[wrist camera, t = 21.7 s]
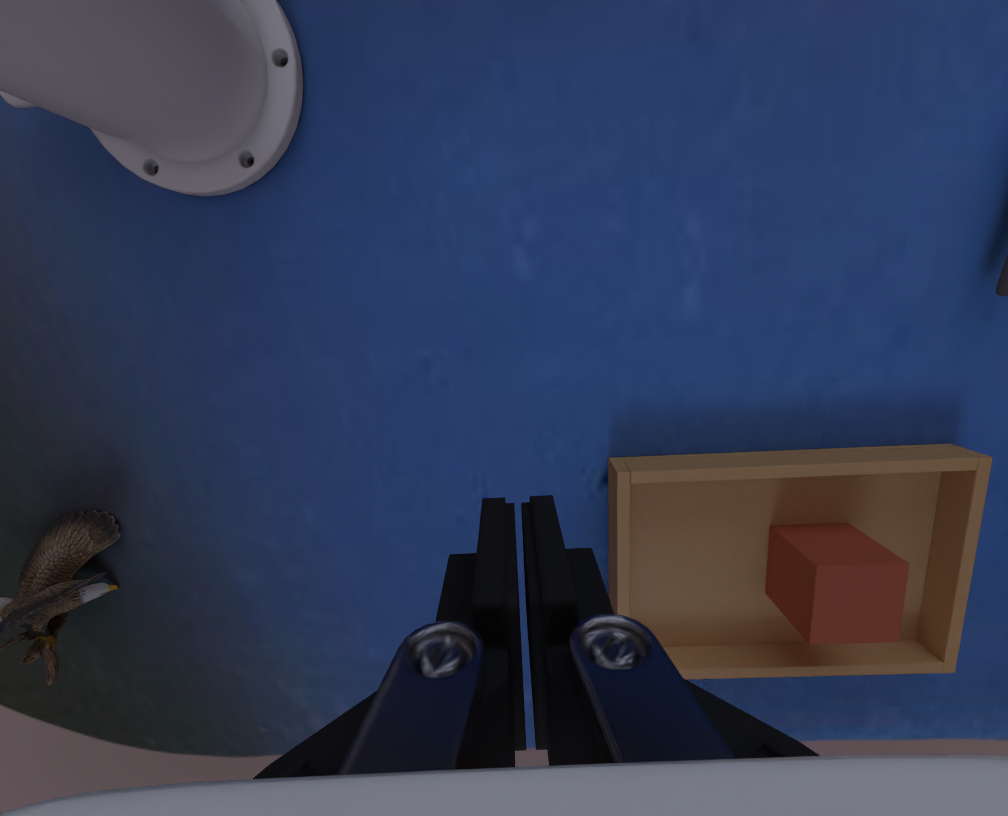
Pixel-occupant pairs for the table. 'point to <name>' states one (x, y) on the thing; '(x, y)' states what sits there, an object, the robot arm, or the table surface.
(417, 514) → the table surface
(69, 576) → the eagle figurine
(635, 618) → the tray
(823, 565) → the block
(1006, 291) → the walkie-talkie
